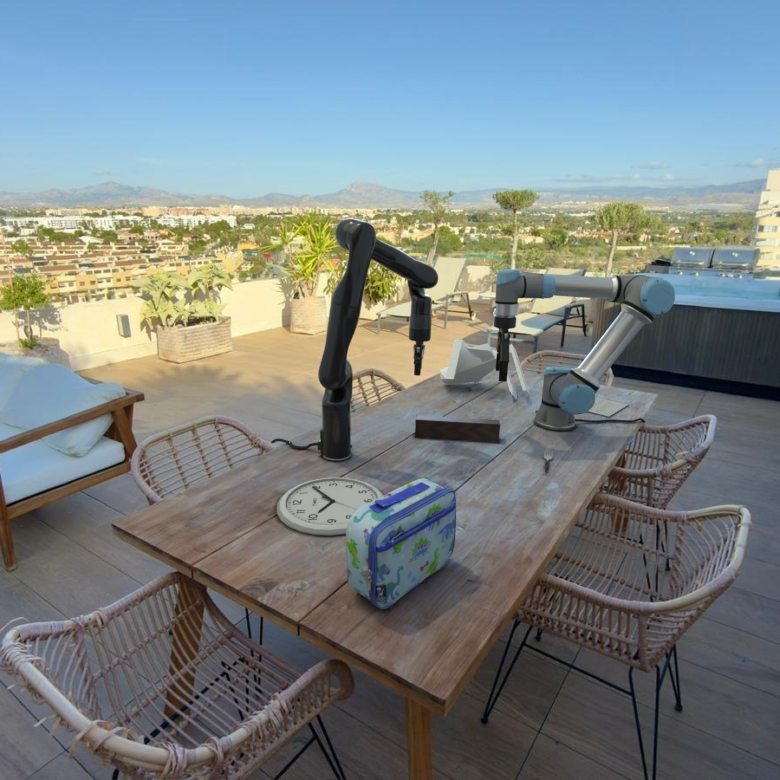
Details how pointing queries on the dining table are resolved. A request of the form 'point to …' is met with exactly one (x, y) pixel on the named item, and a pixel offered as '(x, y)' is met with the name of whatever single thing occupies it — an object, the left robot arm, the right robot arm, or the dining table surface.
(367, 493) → the wall clock
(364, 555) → the lunch box
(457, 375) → the white plastic object
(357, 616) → the dining table surface
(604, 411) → the invitation card
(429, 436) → the walnut beam
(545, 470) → the fork
